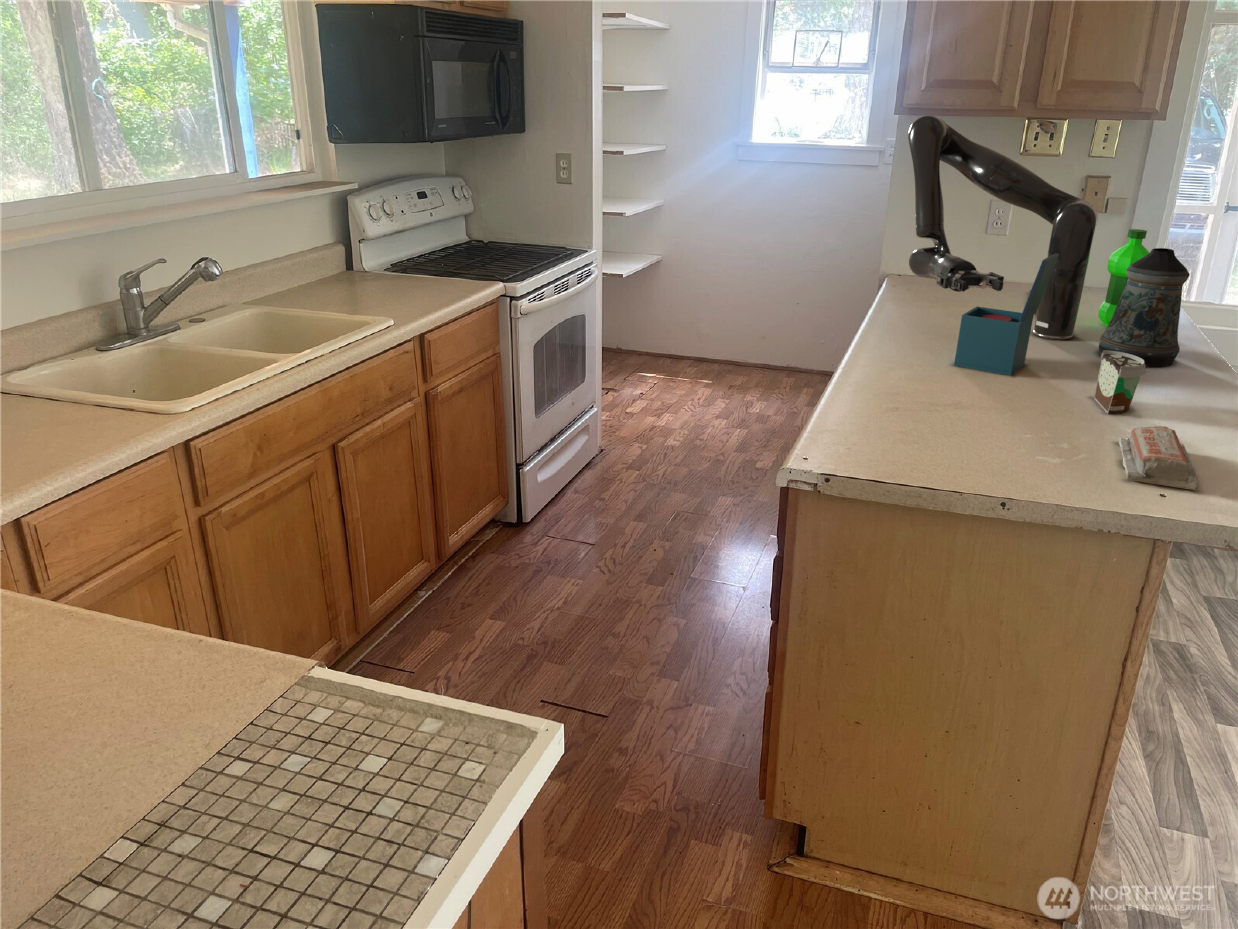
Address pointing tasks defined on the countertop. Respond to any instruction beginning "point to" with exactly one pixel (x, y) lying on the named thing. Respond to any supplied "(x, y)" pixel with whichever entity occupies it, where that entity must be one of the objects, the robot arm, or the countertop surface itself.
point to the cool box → (992, 341)
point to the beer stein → (1149, 310)
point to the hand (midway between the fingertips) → (982, 286)
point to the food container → (1118, 381)
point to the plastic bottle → (1121, 271)
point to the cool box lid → (1039, 287)
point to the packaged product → (1157, 458)
